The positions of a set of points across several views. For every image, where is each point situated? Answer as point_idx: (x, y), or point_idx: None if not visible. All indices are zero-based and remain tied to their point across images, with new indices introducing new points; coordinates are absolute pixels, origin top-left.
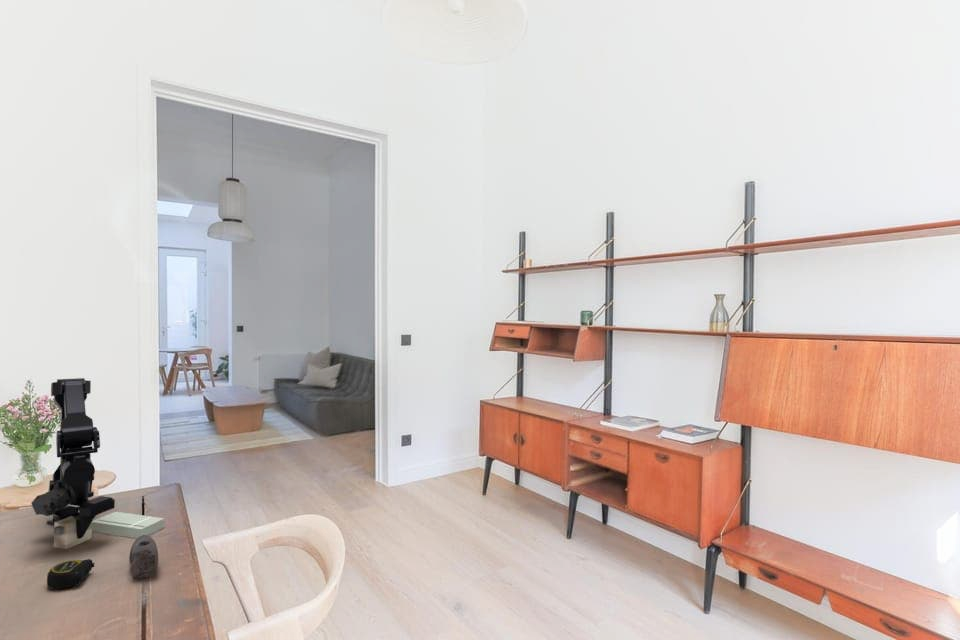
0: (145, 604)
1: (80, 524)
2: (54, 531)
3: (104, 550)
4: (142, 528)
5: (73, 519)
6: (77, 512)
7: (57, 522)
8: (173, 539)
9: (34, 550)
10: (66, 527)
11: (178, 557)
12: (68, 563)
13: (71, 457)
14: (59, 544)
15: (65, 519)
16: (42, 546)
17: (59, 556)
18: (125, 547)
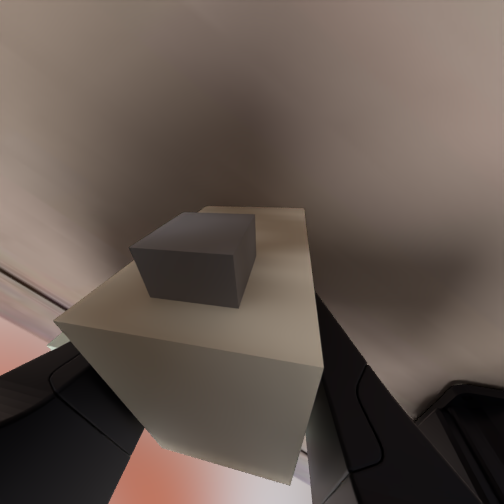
0: None
1: (68, 343)
2: (234, 225)
3: (60, 234)
4: (51, 349)
5: (180, 413)
6: (452, 466)
7: (262, 365)
8: (25, 320)
9: (394, 120)
10: (108, 288)
11: None
12: None
13: None
14: (254, 213)
15: (267, 423)
16: (386, 192)
17: (134, 113)
18: (43, 267)
